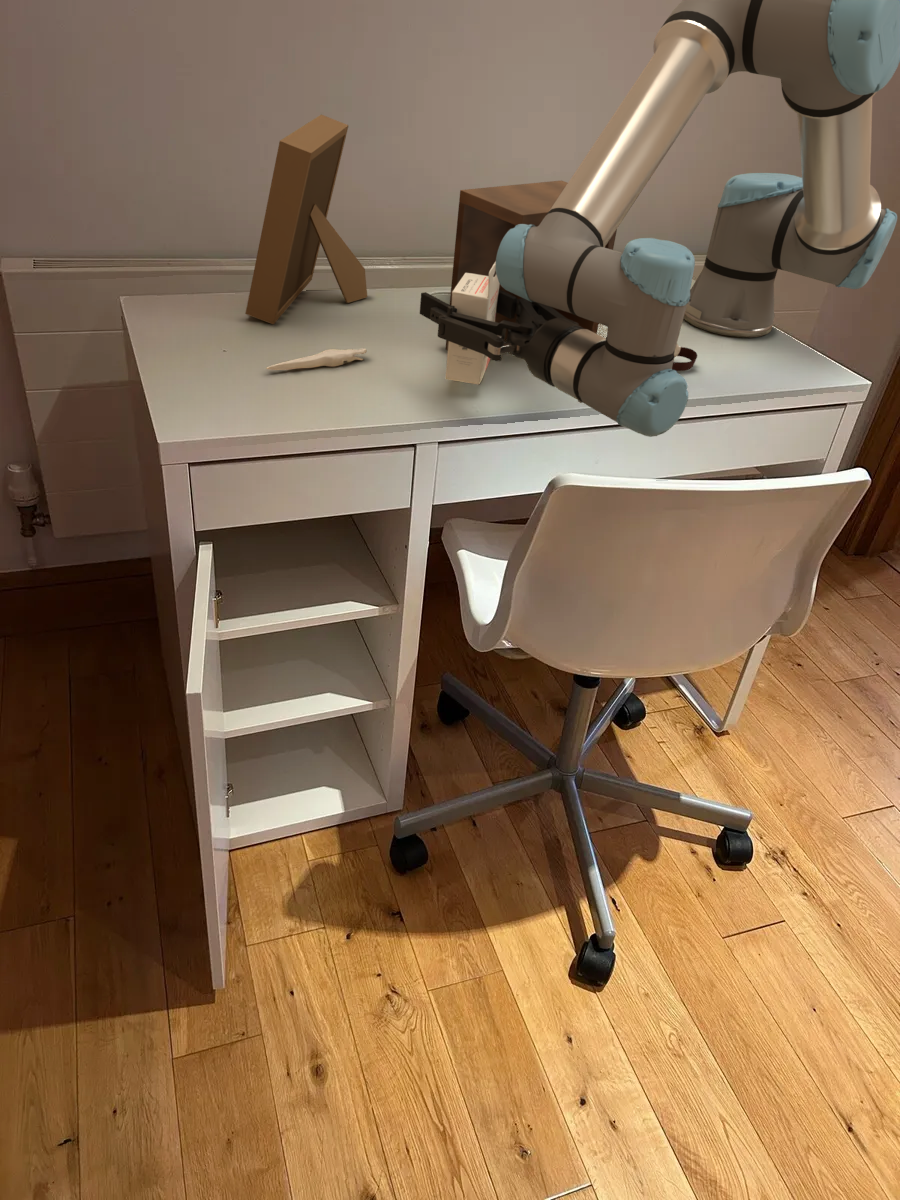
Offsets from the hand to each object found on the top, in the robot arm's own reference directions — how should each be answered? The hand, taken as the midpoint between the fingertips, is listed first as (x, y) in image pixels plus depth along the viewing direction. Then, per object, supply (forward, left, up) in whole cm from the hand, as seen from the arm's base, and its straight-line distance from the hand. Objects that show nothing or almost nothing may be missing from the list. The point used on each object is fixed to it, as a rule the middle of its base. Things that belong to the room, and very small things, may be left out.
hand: (453, 297), depth 122 cm
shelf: (-15, -1, -10) cm, 18 cm away
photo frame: (+3, -31, -11) cm, 32 cm away
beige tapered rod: (+15, -9, -11) cm, 21 cm away
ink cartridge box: (0, +4, -9) cm, 10 cm away
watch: (-32, +13, -11) cm, 36 cm away
